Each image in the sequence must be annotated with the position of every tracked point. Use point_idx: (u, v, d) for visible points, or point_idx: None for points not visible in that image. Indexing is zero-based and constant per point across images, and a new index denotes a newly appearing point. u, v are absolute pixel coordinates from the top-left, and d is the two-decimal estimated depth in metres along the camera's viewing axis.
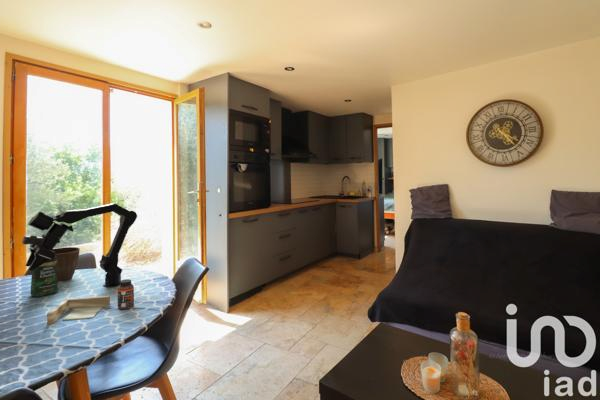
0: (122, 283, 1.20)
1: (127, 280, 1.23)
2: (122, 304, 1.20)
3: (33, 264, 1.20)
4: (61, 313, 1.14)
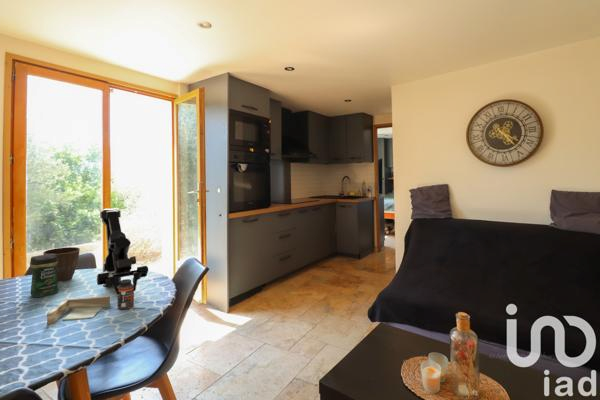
0: (122, 283, 1.20)
1: (127, 280, 1.23)
2: (122, 304, 1.20)
3: (136, 284, 1.25)
4: (61, 313, 1.14)
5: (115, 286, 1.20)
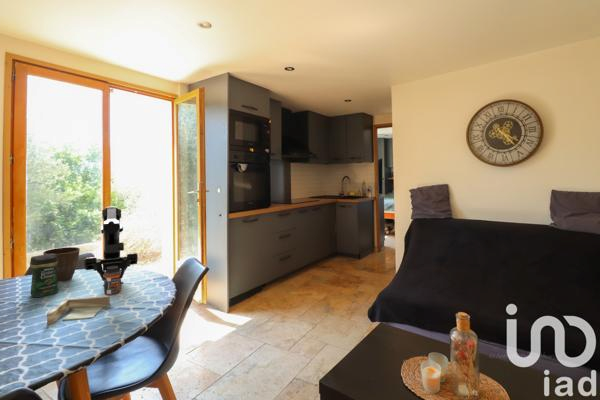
0: (108, 269, 1.17)
1: (114, 266, 1.19)
2: (108, 291, 1.17)
3: (123, 271, 1.22)
4: (61, 313, 1.14)
5: (101, 272, 1.17)
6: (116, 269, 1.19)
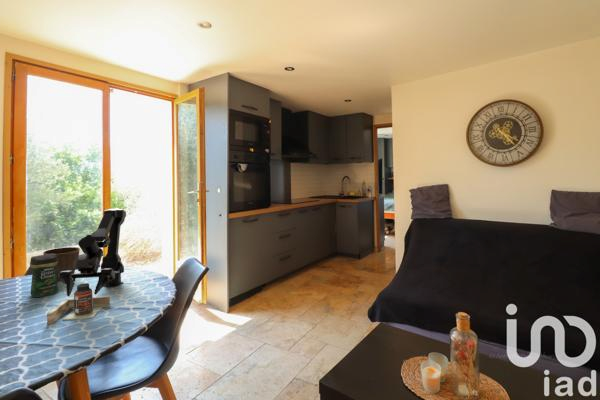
0: (77, 287, 1.14)
1: (84, 284, 1.16)
2: (76, 310, 1.13)
3: (98, 287, 1.17)
4: (61, 313, 1.14)
5: (67, 287, 1.14)
6: (85, 288, 1.15)
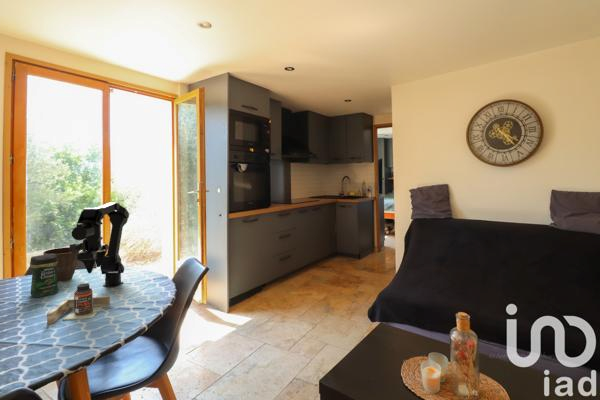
0: (77, 287, 1.14)
1: (85, 284, 1.16)
2: (76, 310, 1.13)
3: (87, 267, 1.25)
4: (61, 313, 1.14)
5: None
6: (85, 288, 1.15)
